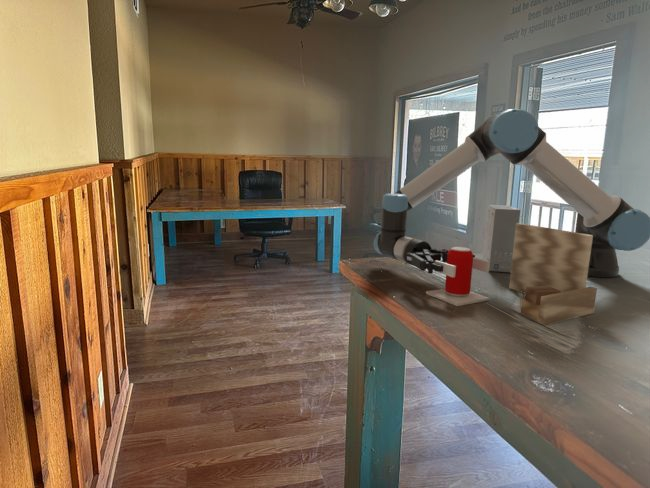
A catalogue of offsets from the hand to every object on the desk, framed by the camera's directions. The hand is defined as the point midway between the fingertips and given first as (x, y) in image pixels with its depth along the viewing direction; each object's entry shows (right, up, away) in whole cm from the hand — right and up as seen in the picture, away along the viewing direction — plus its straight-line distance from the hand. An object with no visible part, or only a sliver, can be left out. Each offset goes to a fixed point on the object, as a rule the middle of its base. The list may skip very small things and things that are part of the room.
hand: (471, 269), depth 110 cm
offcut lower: (+13, -10, -7) cm, 18 cm away
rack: (+14, -9, +1) cm, 16 cm away
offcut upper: (+13, -7, -8) cm, 17 cm away
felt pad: (-2, -7, +5) cm, 9 cm away
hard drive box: (+21, -2, +39) cm, 44 cm away
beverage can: (-2, -7, +5) cm, 9 cm away
